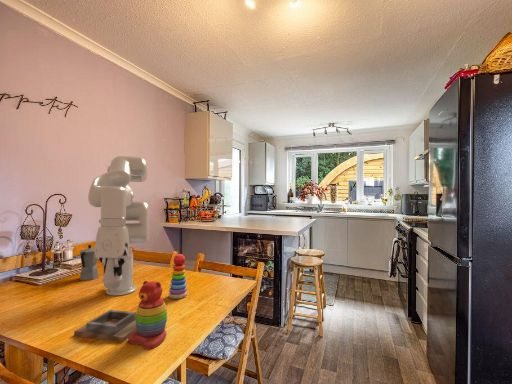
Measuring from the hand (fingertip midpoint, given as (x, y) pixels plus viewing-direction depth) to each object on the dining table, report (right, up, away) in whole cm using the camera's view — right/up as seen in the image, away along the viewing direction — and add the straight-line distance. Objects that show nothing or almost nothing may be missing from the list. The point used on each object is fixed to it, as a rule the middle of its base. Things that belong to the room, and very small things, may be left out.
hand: (112, 277), depth 90 cm
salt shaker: (0, -3, 0) cm, 3 cm away
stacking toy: (+13, -18, +30) cm, 37 cm away
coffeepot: (-42, -18, +54) cm, 70 cm away
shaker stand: (0, -18, 0) cm, 18 cm away
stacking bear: (+15, -18, -5) cm, 24 cm away
